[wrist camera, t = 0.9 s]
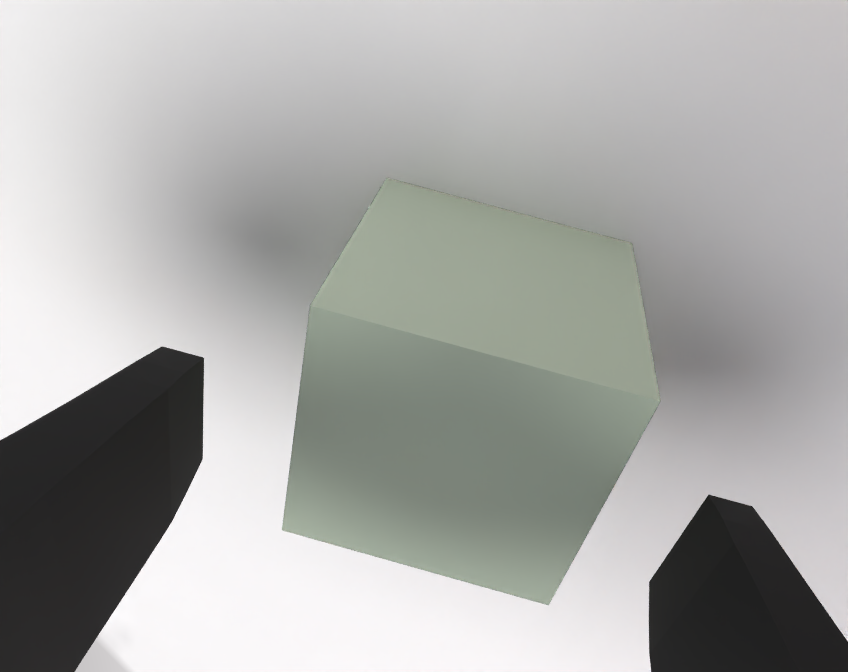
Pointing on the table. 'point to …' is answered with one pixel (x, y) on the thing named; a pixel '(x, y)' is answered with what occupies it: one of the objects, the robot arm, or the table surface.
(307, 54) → the table surface
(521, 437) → the sage cube
